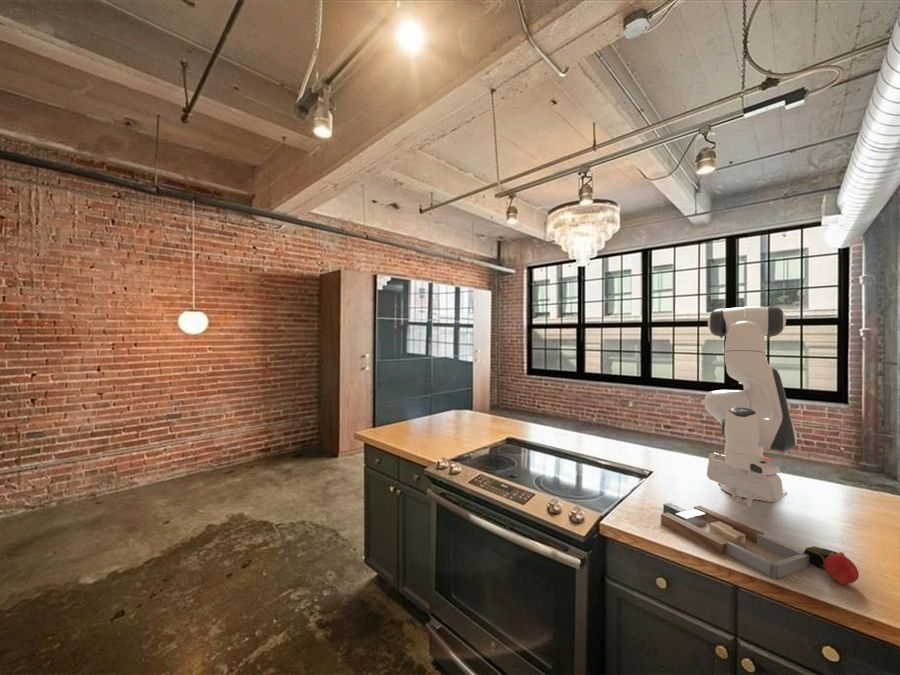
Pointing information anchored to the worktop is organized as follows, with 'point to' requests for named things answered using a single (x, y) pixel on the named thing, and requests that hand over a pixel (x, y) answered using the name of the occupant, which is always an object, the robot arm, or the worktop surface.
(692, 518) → the grey t-shaped block
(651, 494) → the worktop surface
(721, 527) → the tan wooden cube
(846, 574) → the onion
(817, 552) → the tape measure
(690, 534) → the slot rails
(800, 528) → the worktop surface
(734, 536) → the chip
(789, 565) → the tray
